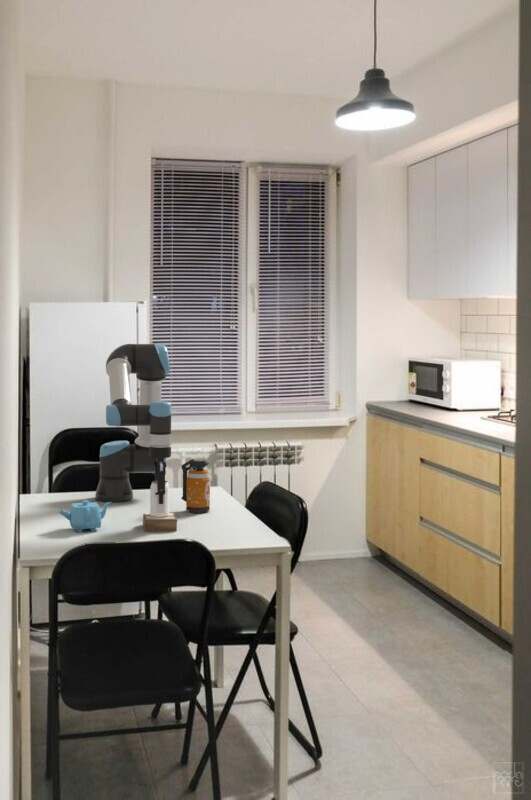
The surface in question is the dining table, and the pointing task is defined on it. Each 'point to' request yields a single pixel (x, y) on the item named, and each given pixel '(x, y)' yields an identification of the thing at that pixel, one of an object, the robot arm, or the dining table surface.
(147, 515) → the podium
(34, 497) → the dining table surface
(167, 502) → the can
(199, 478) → the canister
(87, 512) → the teapot
